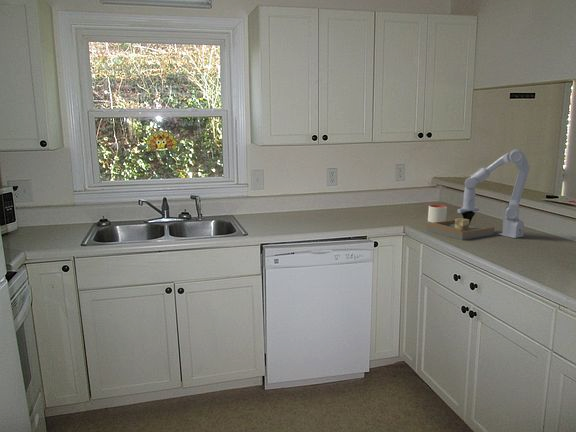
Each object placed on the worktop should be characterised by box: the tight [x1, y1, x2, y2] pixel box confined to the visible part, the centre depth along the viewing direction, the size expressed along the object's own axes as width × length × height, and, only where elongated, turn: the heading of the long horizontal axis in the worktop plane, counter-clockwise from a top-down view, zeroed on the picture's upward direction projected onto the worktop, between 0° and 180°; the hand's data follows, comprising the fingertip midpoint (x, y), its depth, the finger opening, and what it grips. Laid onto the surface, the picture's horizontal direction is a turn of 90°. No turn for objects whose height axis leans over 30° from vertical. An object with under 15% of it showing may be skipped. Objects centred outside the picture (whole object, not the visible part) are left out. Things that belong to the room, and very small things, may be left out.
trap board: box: [425, 219, 495, 241], centre depth 255 cm, size 24×24×5 cm
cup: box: [427, 204, 448, 223], centre depth 278 cm, size 10×10×10 cm
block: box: [454, 217, 469, 230], centre depth 255 cm, size 5×5×5 cm
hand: (467, 225), depth 257 cm, fingers closed
